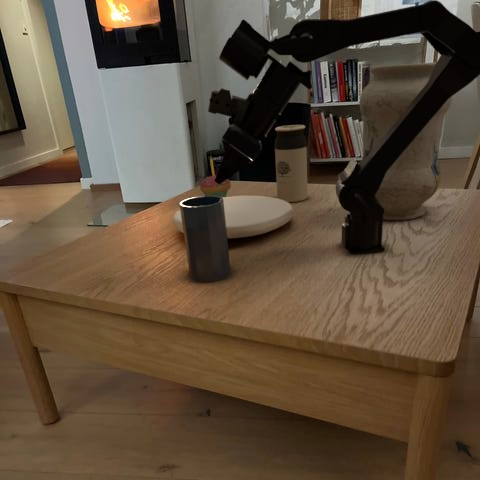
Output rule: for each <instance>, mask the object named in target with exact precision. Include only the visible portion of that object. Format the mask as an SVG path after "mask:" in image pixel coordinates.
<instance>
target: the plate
mask: <svg viewBox="0 0 480 480" xmlns="http://www.w3.org/2000/svg"><path fill="white" fill-rule="evenodd" d="M222 198H223V202H224V212H225V222H226V232H227V239H239V238H249V237H254V236H259V235H264V234H266V233H269V232H272V231H274V230H276V229H278V228H280V227H282V226H284V225H286V224H287V223H289V222H290V221H291V220H292V218H293V216H294V210H293V206H292V203H290V202H286V201H284V200H281V199H277V197H270V196H264V195H232V196H226V197H222ZM172 224H173V227H174V228H175V230H177V231H178V232H179V233H182V234H184V232H183V225H182V218H181V211H180V209H178V210H177V211H176V212H174V214H173V217H172Z"/></svg>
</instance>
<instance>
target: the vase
mask: <svg viewBox="0 0 480 480" xmlns="http://www.w3.org/2000/svg"><path fill="white" fill-rule="evenodd" d="M436 63H437V61H435V62H434V61H433V62H421V63H420V62H419V63H402V64H388V65H375V66H374V65H373V66H371V67H370V68H369V71H370V73H371V74H372V76H373V77H372V78H373V79H372V80H371V81H370V82H369V83H368V84H367V85H366V86H365V87H364V88H363V90H362V91H361V93H360V95H359V104H358V106H359V111H360V114H361V115H362V124H363V125H362V157H361V160H363V159H364V158H365V157H367V156H368V155H369V154H370V153H371V152H372V150H373V149H374V148H375V147H376V145H377V144H378V143H379V142H380V140H381V139H382V138H383V137H384V136H385V134H386V133H387V132H388V131H389V129H390V128H391V127H392V126H393V125H394V123H395V122H396V121H397V120H398V118H399V117H400V116H401V115H402V114H403V112H404V111H405V110H406V109H407V107H408V106H409V105H410V104H411V102H412V101H413V100H414V99H415V98H416V96H417V95H418V94H419V93H420V91H421V90H422V89H423V88H424V87H425V85H426V84H427V82H428V80H429V78H430V76H431V74H432V72H433V69H434V67H435V65H436ZM452 101H453V96H451V97H450V98H449V99H448V100H447V101H446V102H445V104H444V105H443V106H442V107H441V108H440V109H439V111H438V112H437V113H436V114H435V115H434V117H433V118H432V119H431V120H430V121H429V122H428V124H427V125H426V126H425V127H424V128H423V129H422V131H421V132H420V133H419V134H418V135H417V137H416V138H415V139H414V140H413V141H412V142H411V144H410V145H409V146H408V147H407V148H406V149H405V151H404V152H403V153H402V154H401V155H400V157H399V158H398V159H397V160H396V161H395V162H394V164H393V165H392V166H391V167H390V168H389V169H388V171H387V172H386V174H385V177H384V179H383V181H382V183H381V186H380V188H379V190H378V192H377V193H376V195H375V197H376V198H377V199H378V201H379V202H380V204H381V205H382V207H383V208H384V210H385V212H384V214H383V221H384V220H386V221H406V220H414V219H416V218H419V217H421V216H424V215H425V213H426V209H425V208H424V207H423V206H422V205H423V204H424V203H426V202H427V201H429V200H430V199H431V198H432V197H433V196H434V195H435V193H436V192H437V191H438V188H439V186H440V183H441V180H442V179H441V177H442V175H441V174H442V173H441V167H440V164H439V153H440V152H439V151H440V145H441V144H440V143H441V137H442V134H443V127H444V120H445V117H446V114H447V111H449V109H450V107H451V103H452Z"/></svg>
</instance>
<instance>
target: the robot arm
mask: <svg viewBox="0 0 480 480" xmlns="http://www.w3.org/2000/svg"><path fill="white" fill-rule="evenodd" d="M253 27H254V26H252V25H251V24H250V23H249V22H248V21H247V20H245V19H242V20H241V21H240V23H239V25H238V26H237V27H236V29H235V30H234V31H233V33H232V34H231V36H230V37H228V38H227V39H226V42H225V44H224V45H223V47H222V49H221V52H220V55H219V57H218V60H219V61H221V62H222V63H223V64H225V65H226V66H227V67H228V68H230V69H231V70H233V71H234V72H235V73H236V74H237V75H239V76H240V77H241V78H243V79H244V80H245V81H248V80H249V79H250V78H254V79H255V80H257V79H258V77H259V75H260V74H261V72H262V71H263V69H264V68H265V67H266V64H267V63H268V61H269V60H270V61H271V62H270V64H269V65H268V67H267V68H266V70H265V72H264V74H263V75H262V77H261V79H260V80H259V82H258V83H257V85H256V87H255V88H254V90H253V92H252V93H249V94H248V96H247V97H246V98H243V97H240V96H238V95H235V94H232V90H230V89H225V88H223V87H222V88H220V90H212V91H211V94H210V97H209V104H208V108H207V112H208V113H211V114H213V115H216V114H219V115H222V116H226V117H230V118H233V120H232V122H233V123H232V124H230V125H229V126H228V127H227V128H226V131H225V132H224V134H223V135H222V139H221V143H222V146H223V151H224V153H223V157H222V160H221V161H220V164H219V167H218V169H217V173H216V175H215V176H216V178H215V182H216V183H218V184H221V183H222V182H224V181H225V180H227V179H230V178H231V177H233V176H234V175H236V174H237V173H238V172H240V171H241V170H243V169H244V168H246V167H247V166H249V165H250V164H252V163H253V162H254V161H256V159H257V158H258V157H259V155H260V154H261V152H262V149H263V147H262V143H264V142H265V139H266V138H267V136H268V133H269V132H270V131H271V129H272V128H273V126H274V125H275V123H276V122H277V121H278V120H279V119H280V117H281V115H282V113H283V111H284V109H285V108H286V107H287V105H288V103H289V102H290V101H291V98H292V97H293V96H294V94H296V91H297V89H298V88H299V86H300V85H303V87H305V88H306V89H307V90H311V89H312V88H313V85H312V70H311V69H310V70H306V71H304V70H302V69H301V68H300V67H298V66H297V65H296V64H294V62H292V61H291V60H289V61H288V63H287V64H286V66H285V65H283V64H282V63H281V62H280V61H279V60H277V59H276V58H275V57H274V56H272V55H271V54H270V51H273V52H274V53H275V54H277V56H291V58H292V59H294V60H295V61H297V62H298V63H304V64H305V63H307V64H308V63H311V62H314V61H316V60H319V59H321V58H323V57H327V56H329V55H331V54H334V53H336V52H338V51H341V50H343V49H346V48H348V47H353V46H359V45H364V44H368V43H373V42H378V41H383V40H388V39H395V38H398V37H403V36H410V35H413V34H414V35H415V34H420V35H421V36H423V38H424V39H425V40H426V41H427V42H428V43H429V45H430V46H431V47H432V48H433V49H434V50H435V51H436V52H437V53H438V54H439V55H440V56H439V58H438V59H437V61H436V62H437V63H436V65H435V67H434V69H433V72H432V74H431V76H430V78H429V80H428V82H427V84H426V85H425V87H424V88H423V89H422V90H421V91H420V93H419V94H418V95H417V96H416V98H415V99H414V100H413V101H412V102H411V104H410V105H409V106H408V107H407V109H406V110H405V111H404V112H403V114H402V115H401V116H400V117H399V118H398V120H397V121H396V122H395V123H394V125H393V126H392V127H391V128H390V129H389V131H388V132H387V133H386V134H385V136H384V137H383V138H382V139H381V140H380V142H379V143H378V144H377V145H376V147H375V148H374V149H373V150H372V152H371V153H370V154H369V155H368V156H367V157H365V158H364V159H363V160H362V159H361V160H360V161H357V160H356V159H355V158H354V157H352V158H351V159H350V161H349V162H348V163H347V166H346V167H345V168H344V170H343V171H341V172H340V173H338V174H337V178H338V180H337V182H336V183H335V195H336V197H337V200H338V202H339V205H340V206H341V207H342V209H343V210H344V211H346V212H348V213H347V214H345V215H344V222H342V223H341V245H342V246H343V248H344V249H345V250H346V251H347V252H348V254H349V255H358V254H367V253H378V252H384V251H385V250H386V248H385V247H384V246H383V245H382V243H383V227H384V220H383V214H384V212H385V210H384V208H383V207H382V205H381V204H380V202H379V201H378V199H377V198H376V197H375V195H376V193H377V192H378V190H379V188H380V186H381V183H382V181H383V179H384V177H385V174H386V172H387V171H388V169H389V168H390V167H391V166H392V165H393V164H394V162H395V161H396V160H397V159H398V158H399V157H400V155H401V154H402V153H403V152H404V151H405V149H406V148H407V147H408V146H409V145H410V144H411V142H412V141H413V140H414V139H415V138H416V137H417V135H418V134H419V133H420V132H421V131H422V129H423V128H424V127H425V126H426V125H427V124H428V122H429V121H430V120H431V119H432V118H433V117H434V115H435V114H436V113H437V112H438V111H439V109H440V108H441V107H442V106H443V105H444V104H445V102H446V101H447V100H448V99H449V98H450V97H451V96H452V97H453V96H454V95H455V94H457V93H459V92H460V91H461V90H463V89H464V88H466V87H467V86H468V85H470V84H471V83H472V82H473V81H474V80H476V79H477V78H478V77H479V76H480V31H476V30H475V29H474V28H472V26H470V25H469V23H467V22H465V21H464V20H462V19H461V18H460V17H458V16H457V15H455V14H454V13H453V12H451V11H450V10H449V9H448V8H447V7H446V6H445V5H444V4H443V3H442V2H441V1H439V0H428V1H426V2H424V3H422V4H417V5H412V6H408V7H402V8H397V9H393V10H387V11H383V12H378V13H374V14H369V15H363V16H358V17H354V18H349V19H336V18H335V19H334V18H306V19H302V20H299V21H298V22H296V23H295V24H294V25H293V26H292V28H291V30H290V31H289V33H288V34H286V35H283V36H281V37H275V38H274V39H273V40H271V41H270V40H268V39H267V38H266V37H265V36H263V35H262V34H261V33H260V32H258V31H257V30H256V29H254V28H253Z"/></svg>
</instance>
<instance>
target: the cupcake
mask: <svg viewBox="0 0 480 480" xmlns="http://www.w3.org/2000/svg"><path fill="white" fill-rule="evenodd" d="M209 162H210V169H211V175H209V176H206V177H204V179H202V181H201V182H200V183H199V190H200V191H201V193H202V194H203V196H218V197H221V198H222V197H227V195H228V191H229V190H230V189H231V188H232V184H231V180H229V179H230V178H228V179H227V180H225V181H224V182H222V183H221V184H218V183H216V182H215V178H216V175H215V168H214V167H215V166H214V160H213V158H212V155H210V157H209Z"/></svg>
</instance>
